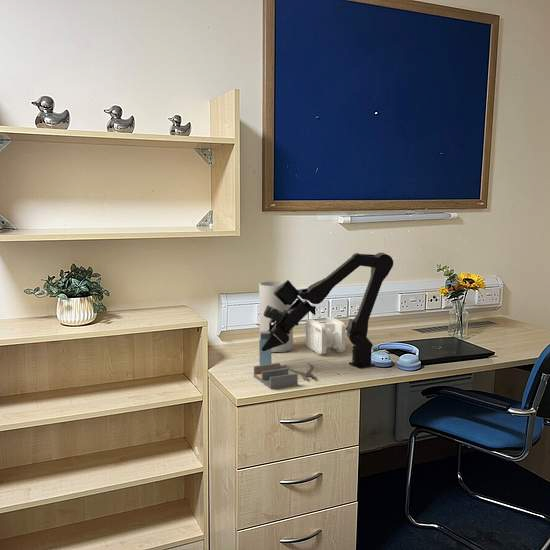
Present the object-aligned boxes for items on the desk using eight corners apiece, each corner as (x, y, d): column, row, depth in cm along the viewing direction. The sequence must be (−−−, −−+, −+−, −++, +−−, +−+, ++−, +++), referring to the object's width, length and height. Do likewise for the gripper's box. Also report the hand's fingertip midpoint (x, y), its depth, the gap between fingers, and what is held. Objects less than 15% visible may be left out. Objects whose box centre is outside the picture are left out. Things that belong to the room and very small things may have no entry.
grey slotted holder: (279, 373, 203) (279, 362, 202) (297, 385, 190) (297, 374, 190) (253, 376, 199) (253, 366, 199) (270, 389, 187) (270, 377, 186)
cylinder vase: (294, 352, 228) (294, 285, 224) (261, 353, 227) (260, 286, 223) (290, 344, 240) (290, 280, 237) (258, 345, 239) (258, 281, 236)
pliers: (306, 361, 215) (335, 376, 197) (306, 363, 215) (335, 379, 197) (281, 364, 211) (308, 380, 193) (281, 367, 211) (308, 383, 193)
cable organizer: (346, 354, 225) (347, 323, 223) (320, 357, 221) (320, 325, 220) (329, 345, 239) (329, 315, 237) (304, 347, 235) (304, 317, 234)
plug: (271, 365, 212) (270, 330, 211) (271, 368, 208) (271, 333, 207) (259, 365, 212) (259, 331, 210) (259, 368, 208) (259, 333, 206)
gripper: (276, 293, 216) (245, 324, 217) (278, 303, 198) (244, 337, 199) (298, 315, 218) (267, 346, 219) (303, 326, 199) (269, 360, 200)
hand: (262, 346), depth 209 cm, fingers open, 9 cm apart
